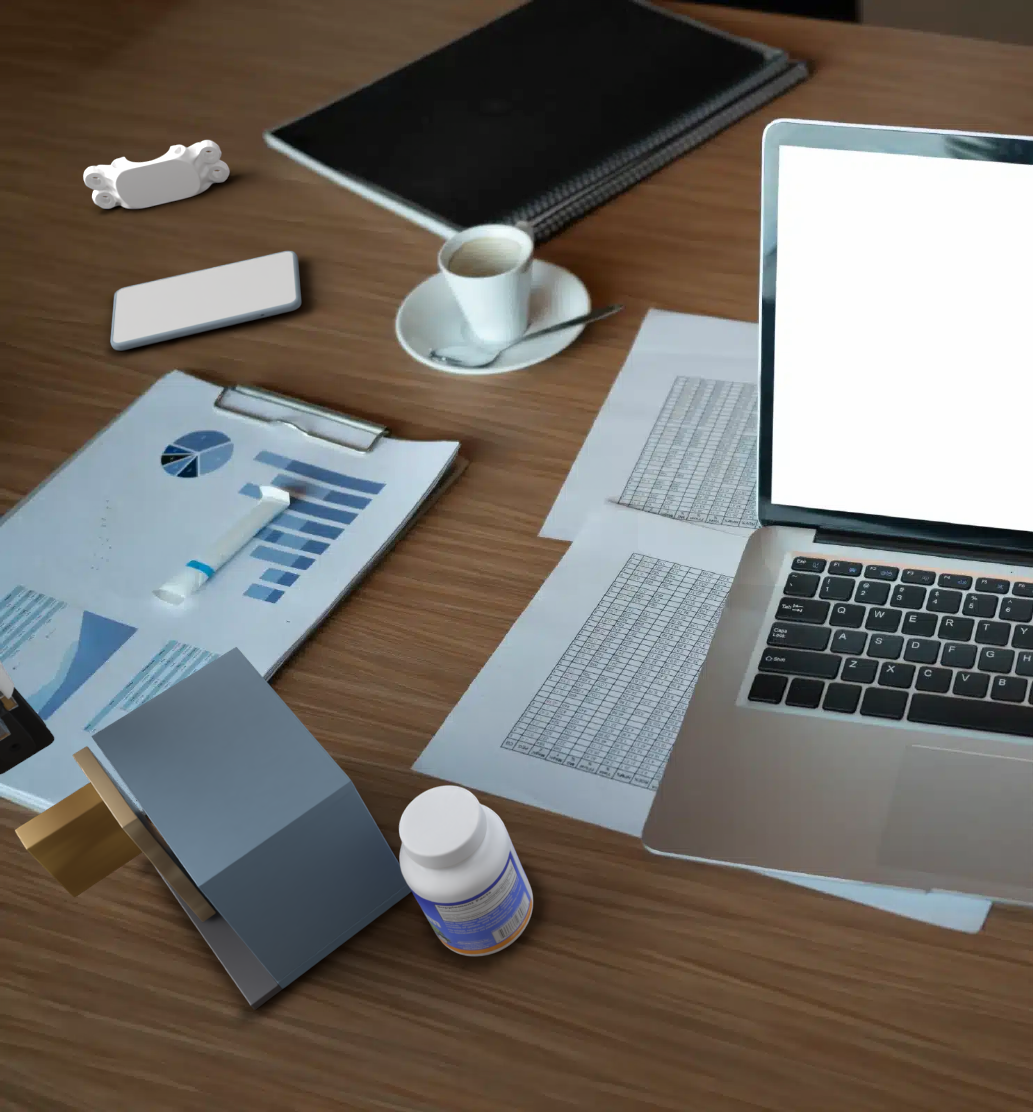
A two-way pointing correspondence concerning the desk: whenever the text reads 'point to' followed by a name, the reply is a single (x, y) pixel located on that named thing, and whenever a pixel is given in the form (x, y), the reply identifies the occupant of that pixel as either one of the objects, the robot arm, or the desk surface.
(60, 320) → the desk surface
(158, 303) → the smartphone
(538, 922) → the desk surface
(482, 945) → the pill bottle
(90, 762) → the tan piece
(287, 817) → the grey-blue hollow box
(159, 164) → the curved bracket
